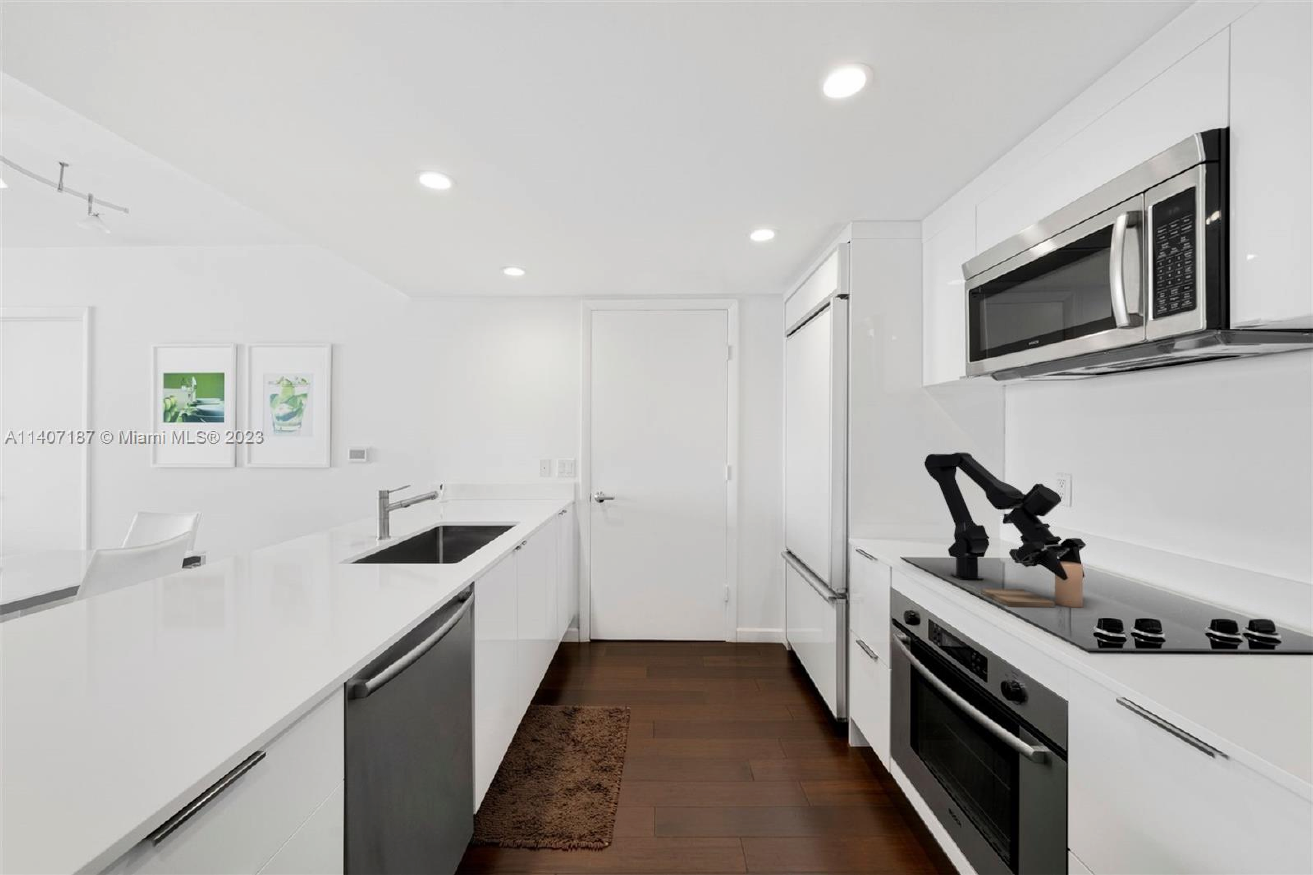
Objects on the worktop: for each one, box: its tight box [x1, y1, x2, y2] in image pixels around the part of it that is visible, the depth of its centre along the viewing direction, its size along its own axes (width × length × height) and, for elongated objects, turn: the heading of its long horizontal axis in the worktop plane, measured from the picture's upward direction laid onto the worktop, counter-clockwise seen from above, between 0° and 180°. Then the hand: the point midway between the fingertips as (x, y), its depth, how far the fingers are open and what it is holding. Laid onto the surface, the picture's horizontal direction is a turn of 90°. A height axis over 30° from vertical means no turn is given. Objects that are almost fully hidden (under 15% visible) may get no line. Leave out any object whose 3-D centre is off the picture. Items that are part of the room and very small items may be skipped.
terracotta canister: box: [1054, 561, 1084, 608], centre depth 138 cm, size 6×6×10 cm
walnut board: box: [980, 588, 1056, 608], centre depth 141 cm, size 12×11×1 cm
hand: (1074, 578), depth 137 cm, fingers closed on terracotta canister, 6 cm apart
